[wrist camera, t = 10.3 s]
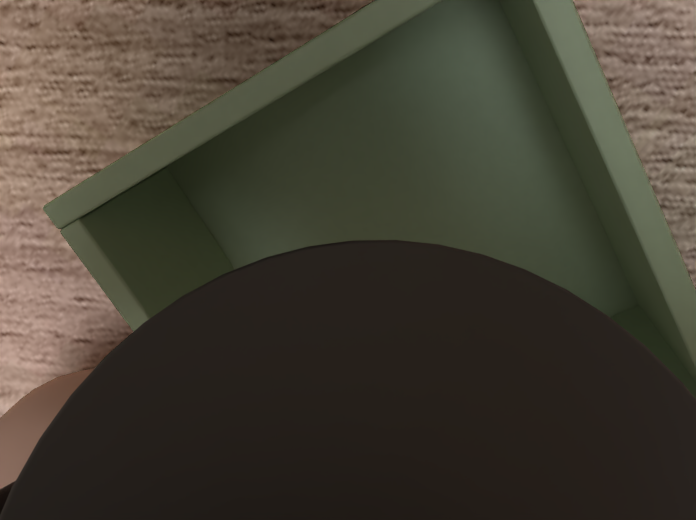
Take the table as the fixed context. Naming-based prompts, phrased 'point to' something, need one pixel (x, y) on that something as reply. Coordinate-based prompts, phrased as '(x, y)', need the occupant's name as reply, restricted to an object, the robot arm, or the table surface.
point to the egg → (32, 422)
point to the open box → (402, 168)
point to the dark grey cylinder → (370, 402)
